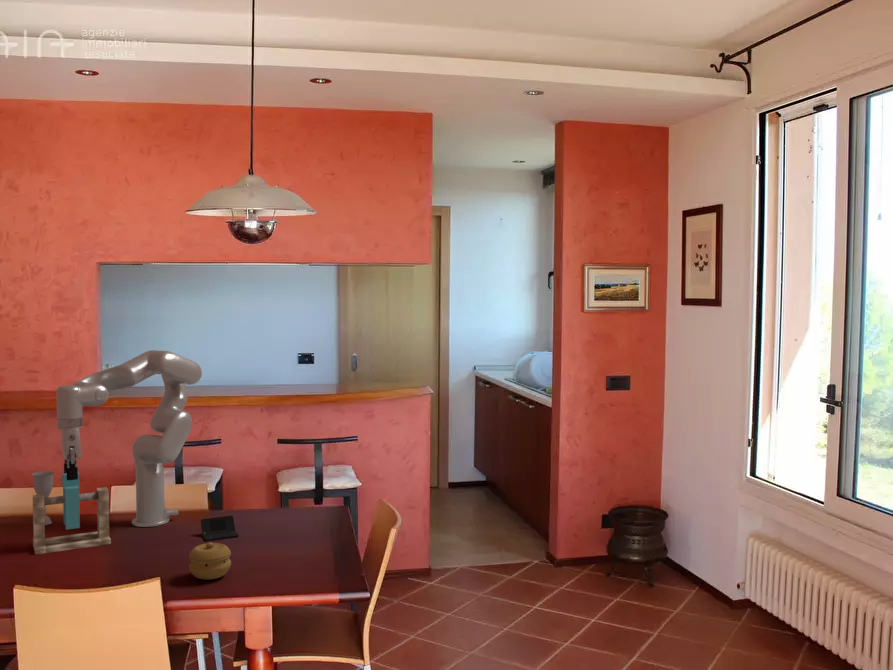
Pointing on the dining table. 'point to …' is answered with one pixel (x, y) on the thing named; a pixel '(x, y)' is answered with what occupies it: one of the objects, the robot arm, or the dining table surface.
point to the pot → (209, 560)
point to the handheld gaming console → (218, 528)
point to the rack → (101, 534)
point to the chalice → (43, 487)
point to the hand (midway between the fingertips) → (70, 477)
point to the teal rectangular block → (71, 502)
